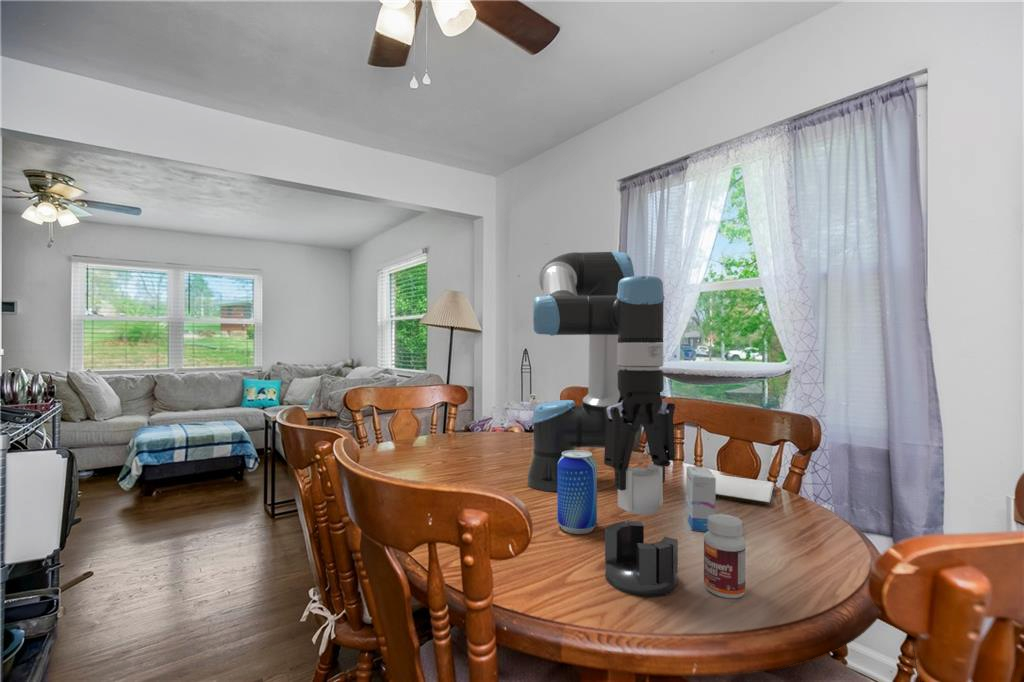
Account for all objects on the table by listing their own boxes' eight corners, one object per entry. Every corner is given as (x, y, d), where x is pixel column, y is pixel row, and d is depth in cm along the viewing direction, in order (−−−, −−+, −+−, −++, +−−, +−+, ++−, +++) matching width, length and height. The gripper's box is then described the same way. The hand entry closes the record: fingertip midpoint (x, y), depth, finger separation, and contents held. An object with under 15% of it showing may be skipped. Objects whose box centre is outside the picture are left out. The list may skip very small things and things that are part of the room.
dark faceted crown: (591, 570, 82) (591, 527, 82) (643, 557, 87) (643, 517, 88) (636, 603, 72) (636, 554, 72) (692, 586, 77) (692, 540, 77)
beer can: (601, 524, 104) (601, 451, 104) (590, 538, 96) (590, 459, 96) (564, 518, 107) (564, 447, 108) (551, 531, 100) (552, 455, 100)
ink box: (716, 533, 99) (716, 476, 99) (691, 531, 100) (691, 475, 100) (708, 518, 108) (708, 466, 108) (685, 516, 109) (685, 465, 109)
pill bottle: (698, 590, 76) (698, 520, 76) (710, 576, 81) (710, 509, 81) (739, 604, 72) (739, 529, 72) (750, 588, 77) (750, 518, 77)
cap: (615, 505, 81) (614, 468, 81) (642, 500, 84) (642, 464, 84) (638, 516, 76) (638, 477, 76) (667, 511, 78) (666, 473, 78)
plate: (774, 489, 130) (774, 482, 130) (769, 509, 114) (769, 501, 114) (702, 479, 140) (702, 472, 140) (688, 496, 124) (688, 488, 124)
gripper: (608, 370, 72) (608, 522, 72) (698, 368, 81) (698, 504, 80) (581, 368, 79) (580, 507, 79) (666, 366, 87) (666, 492, 87)
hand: (640, 505), depth 80 cm, fingers closed on cap, 6 cm apart
